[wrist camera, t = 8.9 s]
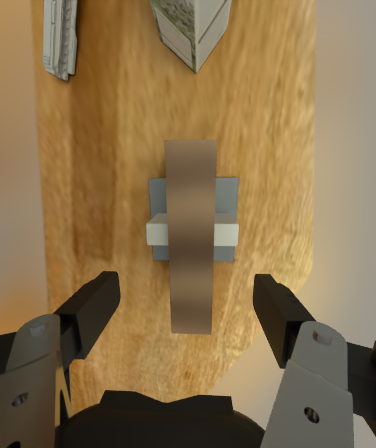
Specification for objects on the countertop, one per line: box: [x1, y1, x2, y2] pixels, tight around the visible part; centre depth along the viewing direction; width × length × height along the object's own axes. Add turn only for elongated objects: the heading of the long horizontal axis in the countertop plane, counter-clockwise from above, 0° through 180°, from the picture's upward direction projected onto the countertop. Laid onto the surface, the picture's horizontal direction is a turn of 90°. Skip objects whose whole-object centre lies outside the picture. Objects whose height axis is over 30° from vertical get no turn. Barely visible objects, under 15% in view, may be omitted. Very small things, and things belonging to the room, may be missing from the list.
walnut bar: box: [164, 139, 217, 335], centre depth 18 cm, size 18×4×4 cm, turn 0°
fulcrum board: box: [146, 178, 239, 261], centre depth 23 cm, size 12×12×7 cm
